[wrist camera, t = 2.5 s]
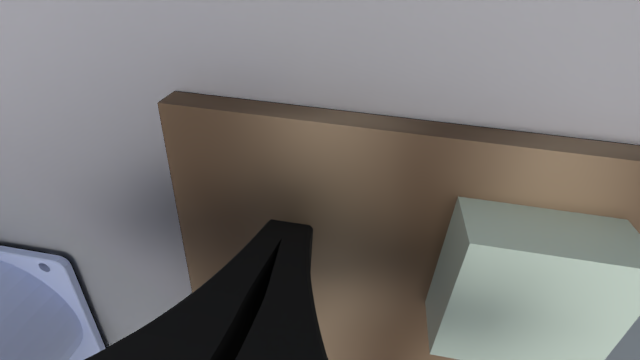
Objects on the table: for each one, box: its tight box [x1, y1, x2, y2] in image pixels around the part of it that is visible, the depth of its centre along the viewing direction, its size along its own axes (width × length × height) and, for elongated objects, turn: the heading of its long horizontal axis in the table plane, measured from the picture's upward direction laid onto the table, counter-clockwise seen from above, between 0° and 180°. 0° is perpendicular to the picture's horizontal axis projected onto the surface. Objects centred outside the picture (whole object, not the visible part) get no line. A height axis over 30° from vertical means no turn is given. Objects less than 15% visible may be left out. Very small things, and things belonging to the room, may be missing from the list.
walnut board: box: [158, 91, 640, 360], centre depth 15 cm, size 15×18×1 cm
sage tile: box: [425, 197, 640, 360], centre depth 11 cm, size 4×4×2 cm
